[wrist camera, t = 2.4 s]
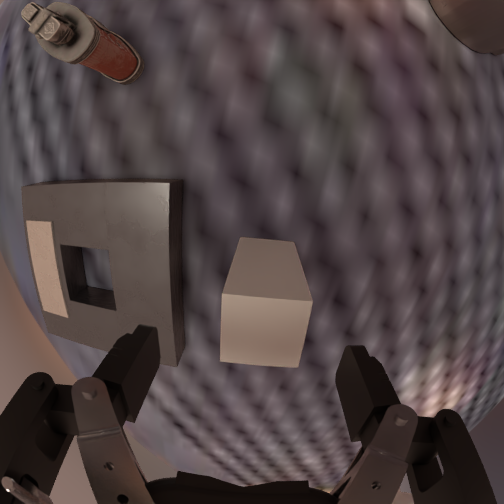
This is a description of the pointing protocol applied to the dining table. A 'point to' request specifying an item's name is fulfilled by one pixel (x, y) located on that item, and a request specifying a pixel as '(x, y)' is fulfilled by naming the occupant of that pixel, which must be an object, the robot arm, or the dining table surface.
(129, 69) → the lighter
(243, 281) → the peg
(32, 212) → the slot holder
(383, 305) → the dining table surface
